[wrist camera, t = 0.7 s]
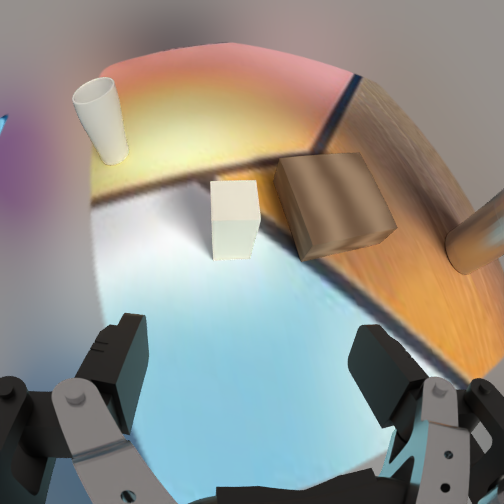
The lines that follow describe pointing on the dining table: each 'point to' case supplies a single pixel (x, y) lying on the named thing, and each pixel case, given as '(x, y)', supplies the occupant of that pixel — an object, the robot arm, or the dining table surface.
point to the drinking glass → (102, 118)
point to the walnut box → (331, 204)
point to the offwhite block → (234, 218)
